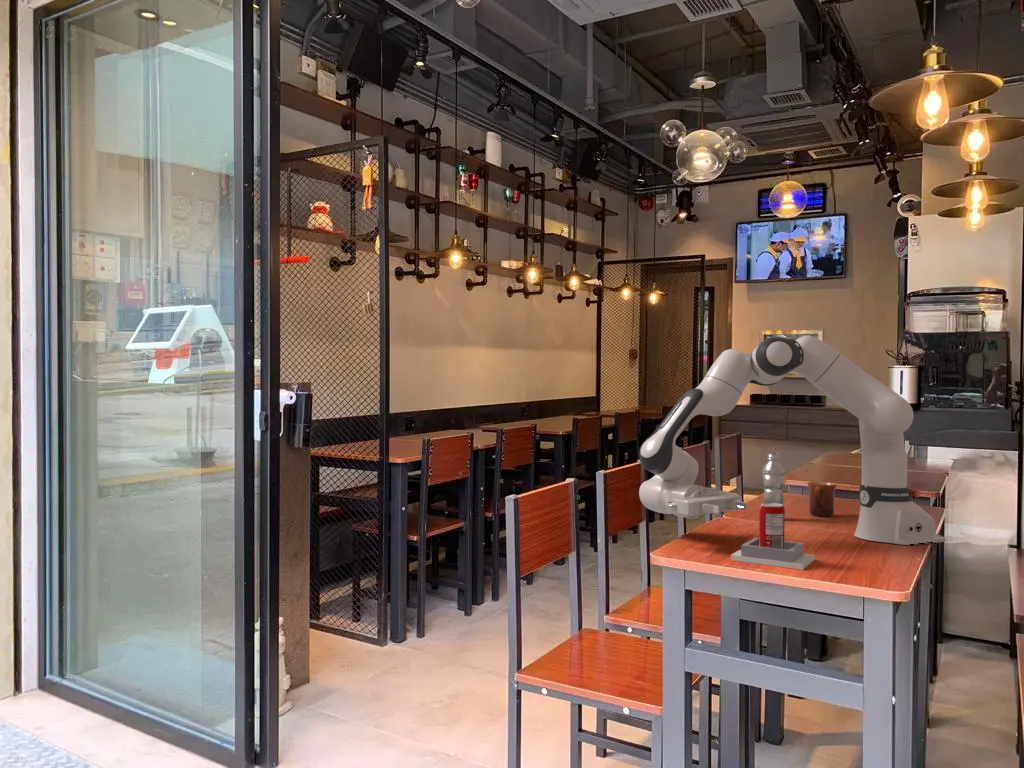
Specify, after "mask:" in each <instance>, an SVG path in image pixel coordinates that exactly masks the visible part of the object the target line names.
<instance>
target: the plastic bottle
mask: <svg viewBox="0 0 1024 768" xmlns="http://www.w3.org/2000/svg"><path fill="white" fill-rule="evenodd" d="M766 460H767V462H766V464H765V465H763V468H762V479H763V488H764V489H763V491H764V492H763V493H764V494H763V503H778V504H782V505H783V507H784V511H786V509H785V504H784V493H783V492H784V490H783V489H784V480H785V473H786V471H785V468H784V466H783V465H782V463H781V462H780V461H781V453H776V452H775V453H772V452H771V453H767V458H766Z"/></svg>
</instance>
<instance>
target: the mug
mask: <svg viewBox="0 0 1024 768" xmlns="http://www.w3.org/2000/svg"><path fill="white" fill-rule="evenodd" d="M806 484H807V487H808V491H809V500H808V501H809V502H808V503H809V504H808V509H809V514H810V515H811V516H813V515H814V516H813V517H817V516H819V518H831V517H833V516H834V512H835V494H836V493H835V492H836V488H837V486H838V484H837V483H835V482H829V481H828V482H827V481H807V483H806ZM830 516H831V517H830Z"/></svg>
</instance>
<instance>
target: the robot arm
mask: <svg viewBox="0 0 1024 768" xmlns="http://www.w3.org/2000/svg"><path fill="white" fill-rule="evenodd" d="M789 373H793V374H794V373H795V374H798V375H799V376H801V377H803V378H804V379H806V380H807V381H808V382H809V383H810V384H812V385H813V386H814V387H816V388H817V389H818V390H819V391H820V392H822V393H823V394H825V396H827V397H828V398H829V399H831V400H832V401H833V402H834V403H836V404H837V405H839V406H841V408H843V409H844V410H846V411H847V412H849V413H850V414H852V415H853V416H854V417H856V418H857V419H858V424H859V427H858V428H859V440H860V450H861V484H860V485H859V494H858V495H859V503H860V507H859V515H858V520H857V525H856V529H855V531H854V534H853V535H854V537H856V538H857V539H858V538H859V539H861V540H865V541H872V542H879V543H887V544H896V545H903V546H911V545H910V544H914V545H919V544H918V543H925V544H927V543H926V542H933V543H932V544H935V543H943V542H945V543H946V538H945V536H944V535H940V534H938V533H936V532H937V531H936V524H935V520H934V518H933V516H931V515H930V514H929V513H928V512H927V511H925V510H924V509H923V508H922V507H920V505H918V504H917V503H916V502H914V501H913V500H914V499H913V497H916V498H919V497H921V496H922V491H921V490H920V489H919V488H917V489H916V488H911V489H910V487H908V456H907V452H906V445H905V437H904V432H906V431H907V430H908V429H909V428H910V427H911V425H912V423H913V421H914V410H913V408H912V405H911V404H910V403H909V401H907V400H906V399H905V398H904V397H902V396H901V395H900V394H898V393H897V392H896V391H895V390H893V389H891V388H890V387H888V386H887V385H886V384H883V382H881V381H879V380H878V379H876V378H875V377H873V376H872V375H870V374H869V373H867V372H866V371H864V370H863V369H862V368H860V367H859V366H858V365H856V364H855V363H854V362H852V361H851V360H850V359H848V357H846V356H845V355H843V354H842V353H840V351H838V350H836V349H835V348H833V347H832V346H831V345H829V344H827V343H826V342H824V341H822V340H820V339H818V338H817V337H815V336H812V335H810V334H809V335H808V334H807V335H806V334H805V335H802V336H800V337H798V338H796V339H789V338H788V339H787V338H784V337H780V336H779V337H778V336H773V337H769V338H766V339H764V340H763V341H762V342H760V343H759V344H758V345H757V346H756V347H755V348H754V349H753V350H752V351H751V352H745V351H741V350H740V349H735V348H730V349H729V348H728V349H726V350H723V352H721V354H719V356H718V357H717V358H716V360H715V361H714V362H713V363H712V365H711V366H710V368H709V369H708V371H707V373H706V374H705V376H704V377H703V379H702V380H701V382H700V383H699V384H698V386H696V387H695V388H690V389H689V390H687V391H686V392H685V393H683V394H682V396H680V398H679V399H678V400H677V402H676V403H675V404H674V406H673V407H672V408H671V410H670V411H669V412H668V414H666V416H665V418H664V419H663V420H662V421H661V423H660V424H659V426H658V427H657V428H656V429H655V430H654V432H653V433H651V435H650V436H648V437H647V438H646V439H645V441H643V443H642V444H641V445H640V448H639V454H638V455H639V461H640V462H639V463H640V466H641V467H642V468H643V469H644V470H646V471H648V472H650V473H652V474H654V476H652V477H651V478H649V479H647V480H645V481H644V482H642V483H641V485H640V487H639V489H638V495H639V500H640V502H641V503H642V505H643V506H644V507H645V508H646V509H648V510H650V511H652V512H656V513H660V514H663V515H664V514H665V515H672V514H673V515H674V516H676V517H681V518H685V519H691V520H695V519H699V518H700V517H702V516H704V515H707V514H721V513H723V512H724V513H725V512H730V511H738V510H740V511H745V510H747V509H748V503H747V502H746V501H743V498H742V496H741V495H740V494H739V493H733V492H730V491H725V490H719V489H717V488H716V487H715V486H702V485H699V484H698V485H697V484H696V482H697V480H698V477H699V474H700V465H699V462H698V461H697V459H696V458H695V457H693V456H692V455H691V454H689V453H688V452H687V451H685V450H683V449H682V448H681V447H679V446H678V445H677V444H676V440H677V438H678V437H679V436H680V434H681V433H682V432H683V430H684V429H685V428H686V427H687V425H688V424H689V422H690V421H691V420H692V419H693V418H694V417H696V416H698V415H705V416H709V417H710V416H711V417H721V416H724V415H727V414H729V413H730V412H732V411H733V409H734V408H735V407H736V405H737V404H738V403H739V401H740V398H741V396H742V395H743V393H744V391H745V389H746V388H747V386H748V384H755V385H759V386H762V387H763V386H766V387H767V386H772V385H775V384H777V383H778V382H780V381H782V380H783V379H784V378H786V377H787V375H788V374H789Z"/></svg>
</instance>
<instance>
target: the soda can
mask: <svg viewBox="0 0 1024 768" xmlns="http://www.w3.org/2000/svg"><path fill="white" fill-rule="evenodd" d="M784 508H785V506H784V507H783V505H782V504H778V503H764V502H762V503H760V507H759V518H758V519H759V521H758V522H759V529H758V532H759V533H758V538H759V546H761V547H769V548H777V549H784V541H785V522H786V521H785V518H786V517H785V513H786V512H785V511H786V510H785V511H784Z"/></svg>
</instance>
